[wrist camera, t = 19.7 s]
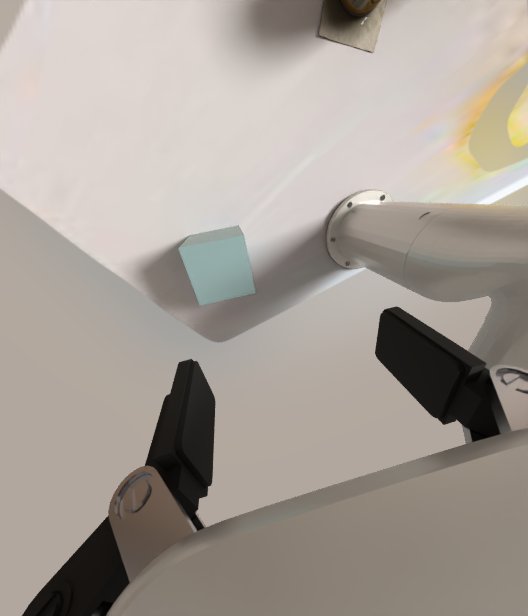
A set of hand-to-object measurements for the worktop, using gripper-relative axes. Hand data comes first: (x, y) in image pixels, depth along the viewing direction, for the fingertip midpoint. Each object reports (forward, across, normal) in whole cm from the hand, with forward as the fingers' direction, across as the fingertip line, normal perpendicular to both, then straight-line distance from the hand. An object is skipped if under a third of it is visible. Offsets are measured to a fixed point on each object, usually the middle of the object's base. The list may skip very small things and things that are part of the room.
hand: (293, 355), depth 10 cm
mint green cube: (+26, +4, +1) cm, 27 cm away
